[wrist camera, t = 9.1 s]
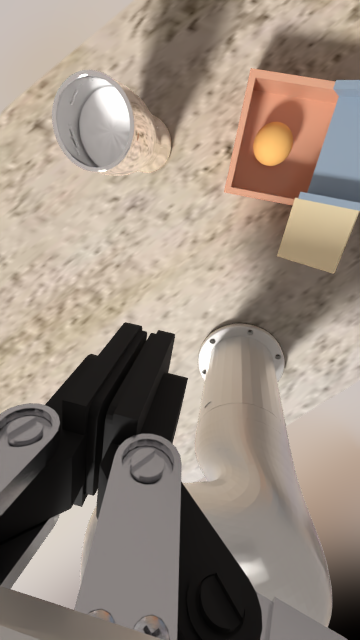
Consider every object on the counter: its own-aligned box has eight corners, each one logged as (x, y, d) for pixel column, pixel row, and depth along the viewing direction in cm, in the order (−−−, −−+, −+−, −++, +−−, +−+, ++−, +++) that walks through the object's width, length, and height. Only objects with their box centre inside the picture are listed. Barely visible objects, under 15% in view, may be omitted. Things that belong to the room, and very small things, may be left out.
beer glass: (140, 188, 38) (87, 192, 25) (107, 135, 37) (31, 109, 23) (186, 154, 36) (154, 138, 23) (153, 95, 34) (98, 40, 21)
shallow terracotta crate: (313, 207, 36) (324, 211, 31) (225, 190, 37) (224, 192, 32) (350, 100, 31) (369, 86, 27) (249, 83, 32) (250, 68, 28)
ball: (246, 162, 34) (280, 169, 35) (252, 161, 31) (290, 168, 31) (256, 121, 33) (291, 128, 33) (263, 115, 29) (304, 123, 29)
